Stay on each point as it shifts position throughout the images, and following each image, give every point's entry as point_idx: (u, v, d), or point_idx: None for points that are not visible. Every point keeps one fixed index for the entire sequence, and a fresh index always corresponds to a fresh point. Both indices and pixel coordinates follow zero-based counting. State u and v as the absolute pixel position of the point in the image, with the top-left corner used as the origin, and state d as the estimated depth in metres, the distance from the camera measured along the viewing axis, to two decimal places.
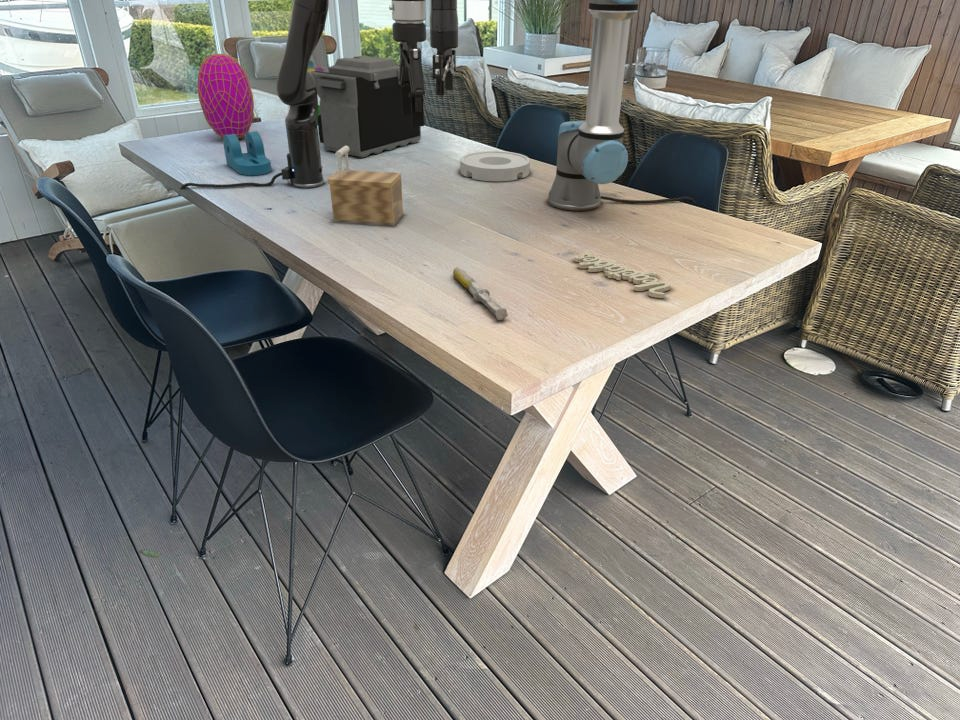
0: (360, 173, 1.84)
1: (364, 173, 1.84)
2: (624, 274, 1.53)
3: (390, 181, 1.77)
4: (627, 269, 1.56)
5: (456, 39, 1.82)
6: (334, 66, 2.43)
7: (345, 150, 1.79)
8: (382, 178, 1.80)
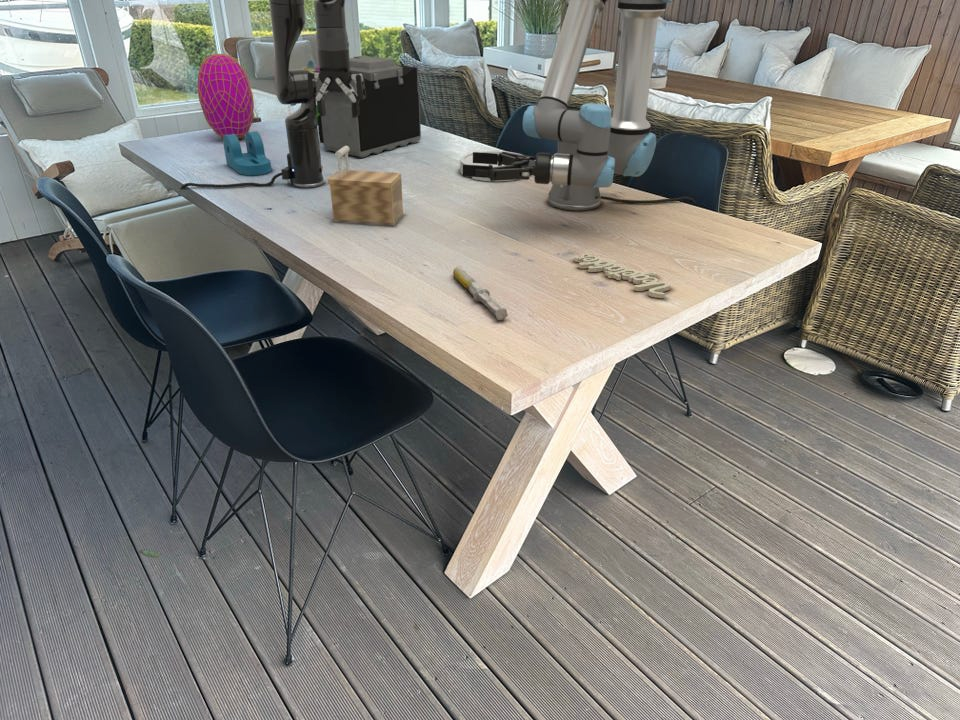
0: (360, 173, 1.84)
1: (364, 173, 1.84)
2: (624, 274, 1.53)
3: (390, 181, 1.77)
4: (627, 269, 1.56)
5: None
6: None
7: (345, 150, 1.79)
8: (382, 178, 1.80)
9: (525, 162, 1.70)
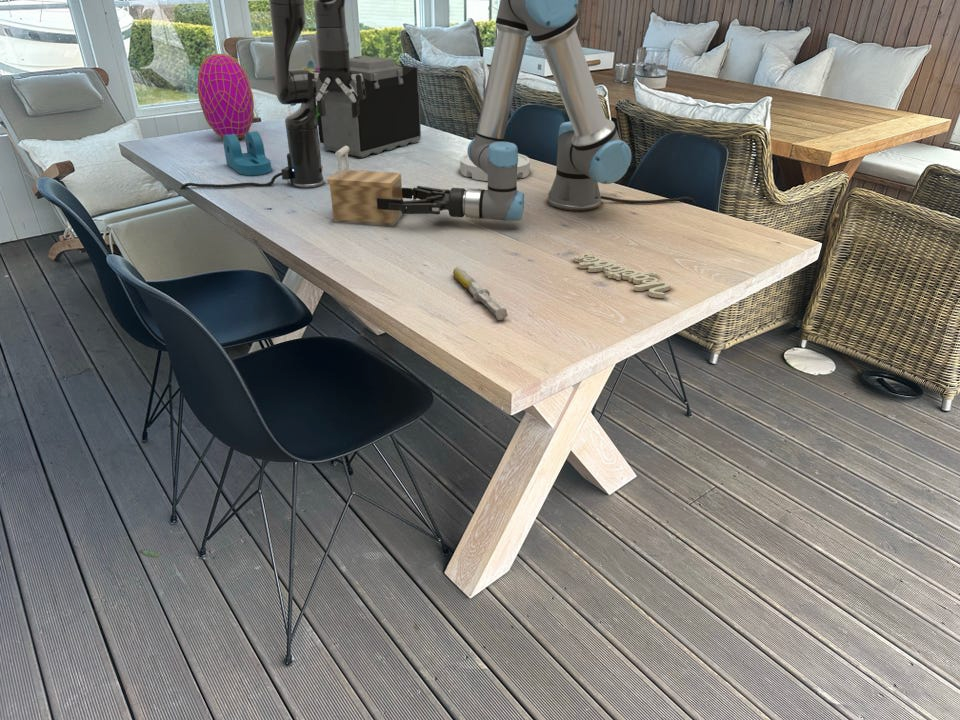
0: (360, 173, 1.84)
1: (364, 173, 1.84)
2: (624, 274, 1.53)
3: (390, 181, 1.77)
4: (627, 269, 1.56)
5: None
6: None
7: (345, 150, 1.79)
8: (382, 178, 1.80)
9: (439, 197, 1.79)
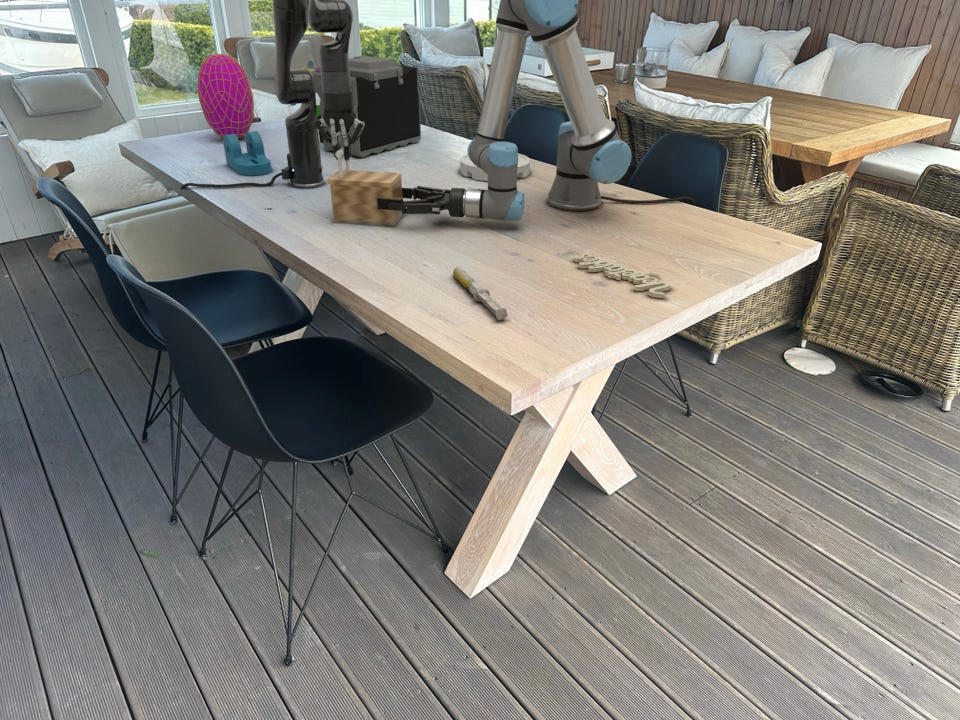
0: (360, 173, 1.84)
1: (364, 173, 1.84)
2: (624, 274, 1.53)
3: (390, 181, 1.77)
4: (627, 269, 1.56)
5: None
6: None
7: None
8: (382, 178, 1.80)
9: (439, 197, 1.79)
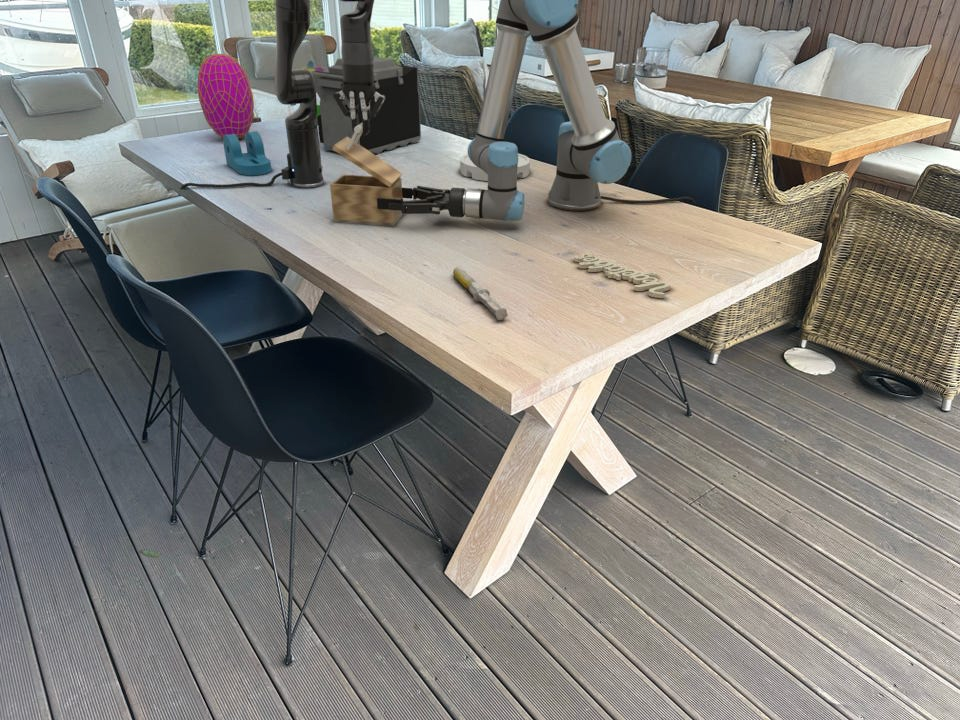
0: (365, 153, 1.81)
1: (369, 155, 1.81)
2: (624, 274, 1.53)
3: (392, 180, 1.77)
4: (627, 269, 1.56)
5: None
6: (334, 66, 2.43)
7: None
8: (385, 172, 1.79)
9: (439, 197, 1.79)
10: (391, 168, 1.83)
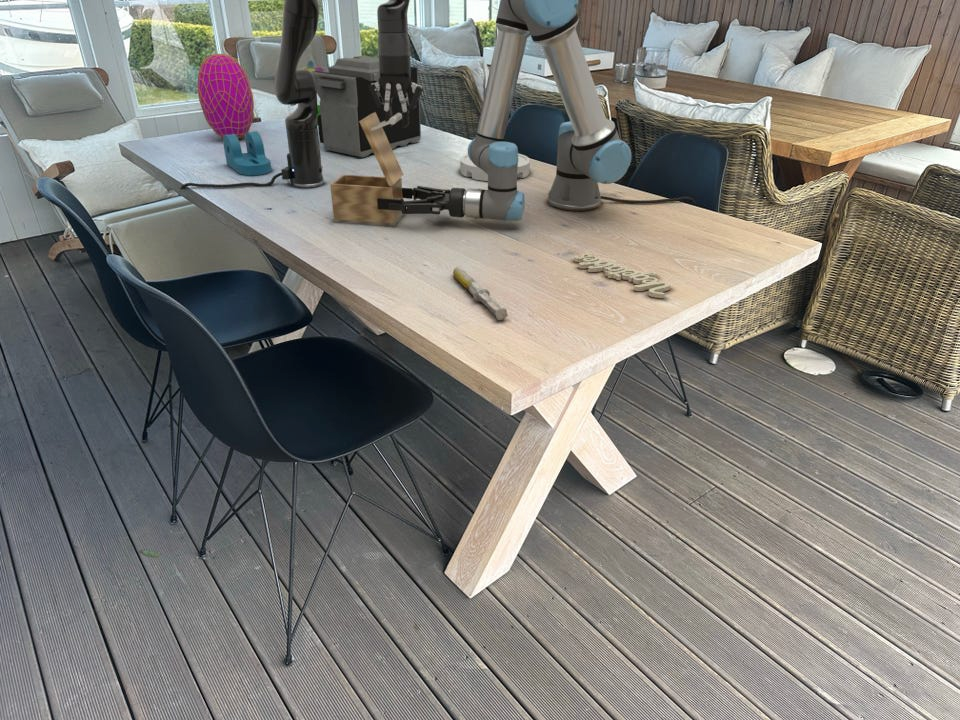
0: (383, 139, 1.78)
1: (385, 143, 1.79)
2: (624, 274, 1.53)
3: (394, 181, 1.77)
4: (627, 269, 1.56)
5: None
6: (334, 66, 2.43)
7: (398, 120, 1.73)
8: (392, 169, 1.78)
9: (439, 197, 1.79)
10: (397, 165, 1.82)
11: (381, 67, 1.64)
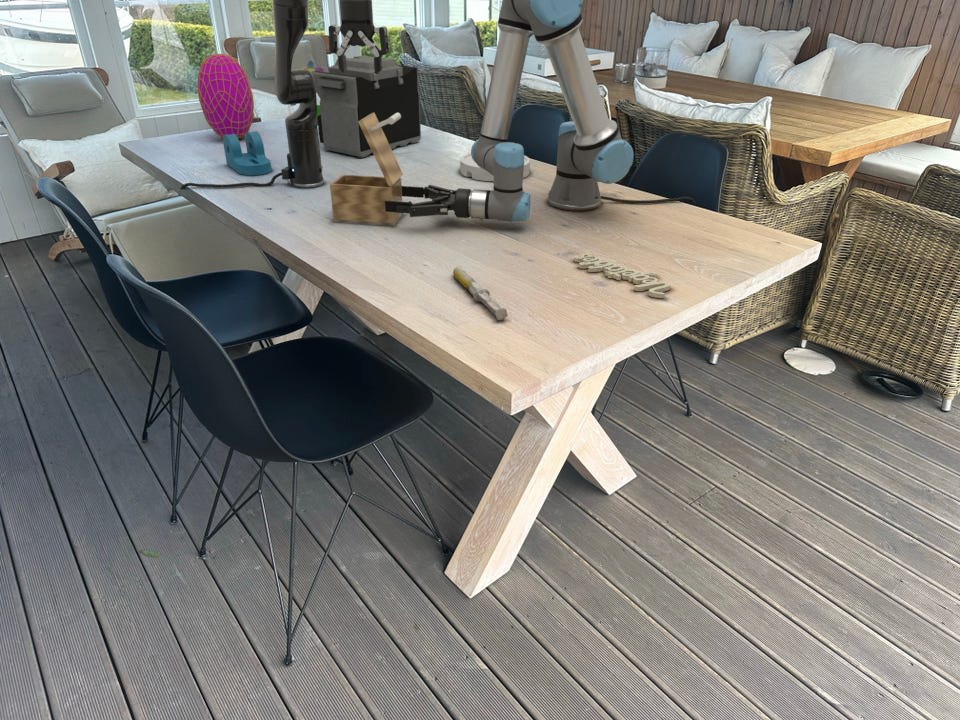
0: (382, 139, 1.78)
1: (384, 143, 1.79)
2: (624, 274, 1.53)
3: (393, 181, 1.77)
4: (627, 269, 1.56)
5: None
6: (334, 66, 2.43)
7: (397, 120, 1.73)
8: (391, 168, 1.78)
9: (445, 198, 1.79)
10: (396, 165, 1.82)
11: (342, 13, 1.60)
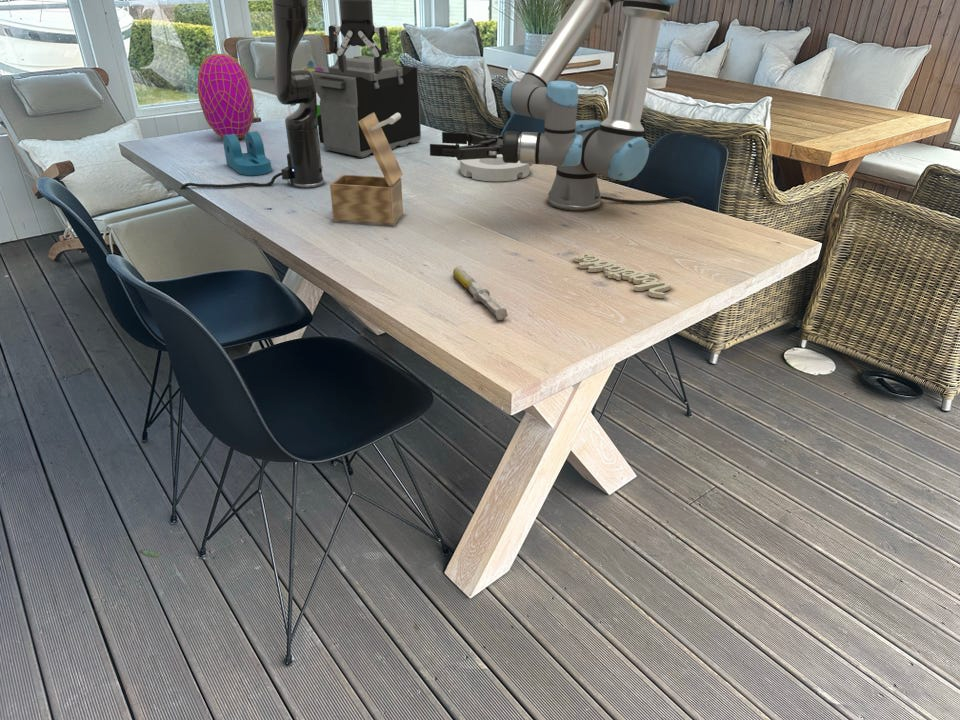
0: (382, 139, 1.78)
1: (384, 143, 1.79)
2: (624, 274, 1.53)
3: (393, 181, 1.77)
4: (627, 269, 1.56)
5: None
6: (334, 66, 2.43)
7: (397, 120, 1.73)
8: (391, 168, 1.78)
9: (493, 141, 1.69)
10: (396, 165, 1.82)
11: (342, 13, 1.60)
